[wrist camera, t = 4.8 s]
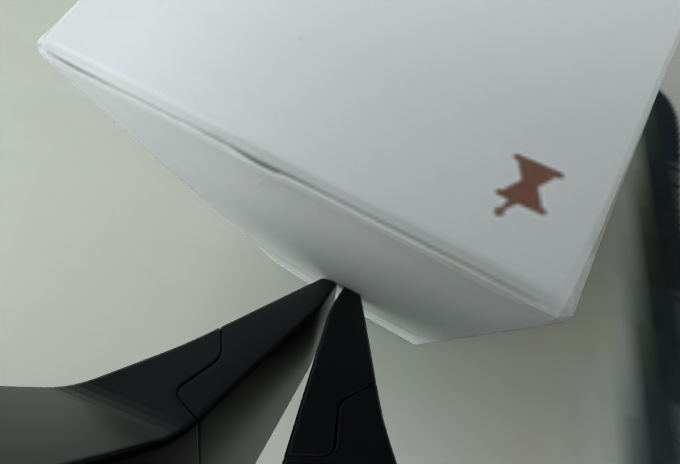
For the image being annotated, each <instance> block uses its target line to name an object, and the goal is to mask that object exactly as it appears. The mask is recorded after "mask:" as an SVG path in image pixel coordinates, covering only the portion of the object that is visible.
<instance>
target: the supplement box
mask: <svg viewBox="0 0 680 464" xmlns="http://www.w3.org/2000/svg"><path fill="white" fill-rule="evenodd" d="M679 41H680V0H78V1H77V2H76V3H75V4H74V5H73V6H72V7H71V9H70V10H69V11H68V12H67V13H66V14H65V15H64V16H63V17H62V18H61V19H59V20H58V21H57V22H56V23H55V24H54V25H53V26H52V27H51V28H50V29H49V30H48V31H47V32H46V33H44V34H43V35H42V36H41V37H40V38H39V40H38V42H37V48H38V50H39V52H40V53H41V54H42V56H43V57H44V58H45V59H46V60H47V61H48V62H49V63H51V64H52V65H53V66H54V67H55V68H56V69H57V70H58V71H59V72H60V73H62V74H63V75H64V76H65V77H66V78H67V79H68V80H69V81H70V82H71V83H73V84H74V85H75V86H76V87H77V88H78V89H79V90H80V91H81V92H82V93H83V94H84V95H85V96H87V97H88V98H89V99H90V100H91V101H92V102H93V103H94V104H95V105H96V106H97V107H98V108H99V109H101V110H102V111H103V112H104V113H105V114H106V115H107V116H108V117H109V118H110V119H112V120H113V121H114V122H115V123H116V124H117V125H118V126H119V127H121V128H122V129H123V130H124V131H125V132H126V133H127V134H128V135H129V136H131V137H132V138H133V139H134V140H135V141H136V142H137V143H139V144H140V145H141V146H142V147H143V148H144V149H145V150H147V151H148V152H149V153H150V154H151V155H152V156H154V157H155V158H156V159H157V160H158V161H159V162H160V163H162V164H163V165H164V166H165V167H166V168H167V169H169V170H170V171H171V172H172V173H173V174H174V175H176V176H177V177H178V178H179V179H180V180H182V181H183V182H184V183H185V184H186V185H187V186H189V187H190V188H191V189H192V190H193V191H194V192H196V193H197V194H198V195H199V196H200V197H202V198H203V199H204V200H205V201H206V202H207V203H208V204H210V205H211V206H212V207H213V208H214V209H215V210H217V211H218V212H219V213H220V214H221V215H222V216H223V217H225V218H226V219H227V220H228V221H229V222H230V223H232V224H233V225H234V226H235V227H236V228H237V229H239V230H240V231H241V232H242V233H243V234H244V235H246V236H247V237H248V238H249V239H250V240H252V241H253V242H254V243H255V244H256V245H257V246H258V247H260V248H261V249H262V250H263V251H264V252H265V253H266V254H267V255H268V256H269V257H270V258H271V259H273V260H274V261H275V262H276V263H277V264H278V265H280V266H281V267H283V268H284V269H286V270H288V271H289V272H291V273H292V274H294V275H296V276H297V277H299V278H300V279H302V280H304V281H305V282H307V283H308V284H311V283H313V282H315V281H317V280H319V279H322V278H325V279H328V280H331V281H333V282H335V283H337V289H336V295H335V300H336V299H337V297H338V295H339V294H340V292H341V290H342V289H343V287H346V288H348V289H350V290H352V291H354V292H356V293H358V294H360V295H361V299H362V305H363V310H364V316H365V317H366V318H368V319H370V320H372V321H373V322H375V323H377V324H379V325H380V326H382V327H384V328H386V329H388V330H389V331H391V332H393V333H395V334H396V335H398V336H400V337H402V338H404V339H405V340H407V341H409V342H411V343H412V344H414V345H417V344H423V343H429V342H436V341H444V340H450V339H456V338H463V337H470V336H476V335H483V334H490V333H496V332H503V331H510V330H517V329H523V328H530V327H536V326H543V325H549V324H555V323H562V322H565V321H567V320H569V319H571V318H573V317H574V314H575V311H576V308H577V306H578V303H579V300H580V297H581V295H582V292H583V289H584V286H585V283H586V281H587V278H588V275H589V273H590V270H591V267H592V265H593V262H594V259H595V257H596V254H597V251H598V249H599V246H600V243H601V241H602V238H603V235H604V233H605V230H606V227H607V225H608V222H609V219H610V217H611V214H612V211H613V209H614V206H615V204H616V201H617V198H618V196H619V193H620V190H621V188H622V185H623V182H624V180H625V177H626V175H627V172H628V169H629V167H630V164H631V161H632V159H633V156H634V154H635V151H636V148H637V146H638V143H639V140H640V138H641V135H642V133H643V130H644V127H645V125H646V122H647V119H648V117H649V114H650V112H651V109H652V106H653V104H654V101H655V99H656V96H657V93H658V91H659V88H660V85H661V83H662V81H663V78H664V75H665V74H666V71H667V69H668V67H669V64H670V62H671V60H672V58H673V55H674V53H675V51H676V49H677V46H678V44H679Z"/></svg>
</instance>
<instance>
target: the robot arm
mask: <svg viewBox="0 0 680 464" xmlns="http://www.w3.org/2000/svg"><path fill="white" fill-rule="evenodd" d="M336 289H337V283H335V282H333V281H331V280H328V279H325V278H322V279H319V280H317V281H315V282H313V283H311V284H309V285H307V286H305V287H303V288H301V289H299V290H297V291H295V292H292V293H290V294H288V295H286V296H284V297H282V298H280V299H278V300H276V301H274V302H272V303H270V304H268V305H266V306H264V307H262V308H259V309H257V310H255V311H253V312H251V313H249V314H247V315H245V316H243V317H241V318H239V319H237V320H235V321H233V322H231V323H229V324H226V325H224V326H222V327H221V329H219V328H218V329H216V330H214V331H212V332H210V333H208V334H206V335H203V336H201V337H199V338H197V339H195V340H192V341H190V342H188V343H186V344H184V345H181V346H179V347H176V348H174V349H171V350H169V351H166V352H164V353H161V354H159V355H156V356H153V357H151V358H148V359H145V360H143V361H140V362H138V363H135V364H132V365H130V366H127V367H124V368H122V369H119V370H116V371H114V372H111V373H109V374H106V375H103V376H101V377H98V378H95V379H92V380H89V381H86V382H82V383H78V384H75V385H69V386H63V387H13V386H0V464H255V463H256V461H257V459H258V458H259V456H260V454H261V452H262V451H263V449H264V447H265V445H266V443H267V442H268V440H269V438H270V436H271V434H272V433H273V431H274V429H275V427H276V426H277V424H278V422H279V420H280V418H281V417H282V415H283V413H284V411H285V410H286V408H287V406H288V404H289V402H290V401H291V399H292V397H293V395H294V393H295V392H296V390H297V388H298V386H299V385H300V383H301V381H302V379H303V377H304V376H305V374H306V372H307V370H308V368H309V366H310V364H311V362H312V360H313V358H314V355H315V353H316V355H315V358H314V361H313V365H312V368H311V371H310V374H309V378H308V381H307V384H306V387H305V391H304V394H303V397H302V400H301V404H300V407H299V410H298V413H297V417H296V420H295V423H294V426H293V430H292V433H291V436H290V440H289V443H288V446H287V449H286V453H285V456H284V460H283V462H282V464H397V463H396V460H395V457H394V454H393V450H392V447H391V444H390V441H389V437H388V434H387V430H386V427H385V423H384V420H383V415H382V410H381V406H380V401H379V396H378V390H377V386H376V380H375V374H374V368H373V362H372V357H371V351H370V345H369V339H368V333H367V328H366V322H365V316H364V310H363V305H362V299H361V295H360V294H358V293H356V292H354V291H352V290H350V289H348V288H346V287H343V289H342V290H341V292H340V294H339V295H338V297H337V299H336V300H335V295H336ZM334 300H335V302H334ZM316 350H317V351H316Z"/></svg>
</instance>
